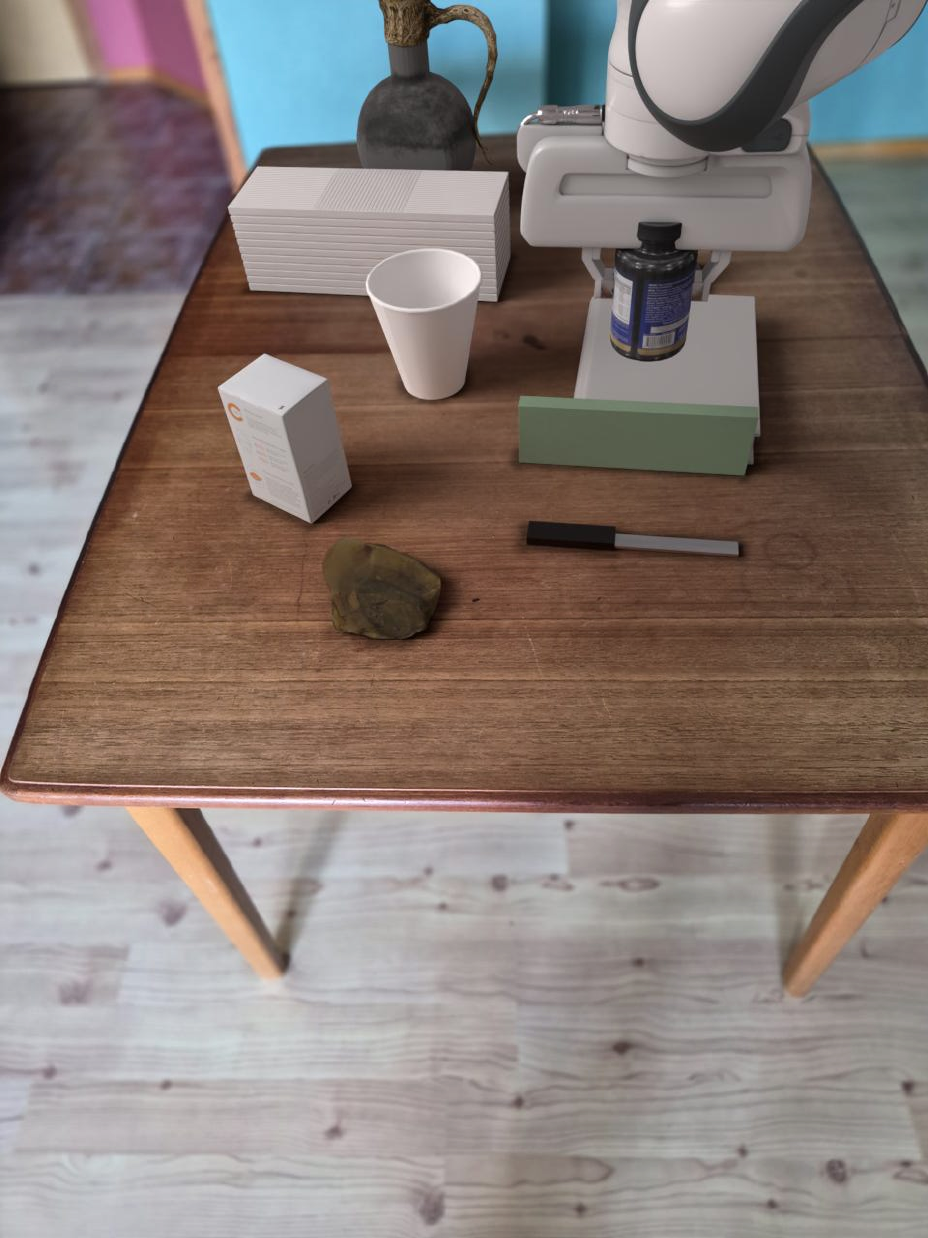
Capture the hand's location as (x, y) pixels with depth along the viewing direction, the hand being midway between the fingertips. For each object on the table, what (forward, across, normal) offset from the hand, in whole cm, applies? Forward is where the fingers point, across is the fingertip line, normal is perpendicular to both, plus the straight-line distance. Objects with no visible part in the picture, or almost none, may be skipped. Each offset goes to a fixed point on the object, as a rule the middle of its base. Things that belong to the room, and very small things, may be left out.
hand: (651, 296), depth 69 cm
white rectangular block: (+21, +3, +17) cm, 27 cm away
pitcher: (+21, -29, +55) cm, 66 cm away
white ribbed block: (+21, -33, +38) cm, 55 cm away
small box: (+21, -32, -3) cm, 39 cm away
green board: (+21, 0, +4) cm, 21 cm away
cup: (+21, -22, +16) cm, 35 cm away
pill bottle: (+4, 0, 0) cm, 4 cm away
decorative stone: (+21, -21, -16) cm, 34 cm away
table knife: (+21, 0, -7) cm, 22 cm away
